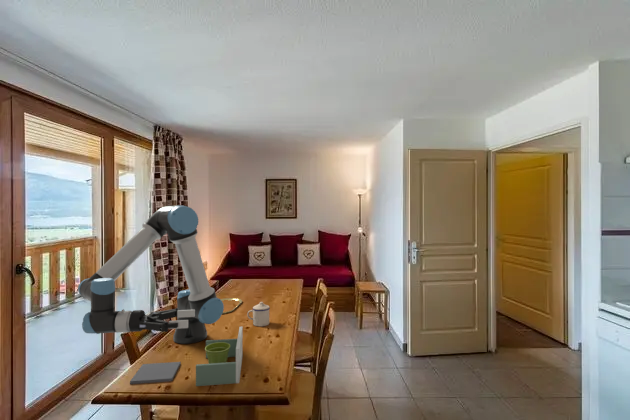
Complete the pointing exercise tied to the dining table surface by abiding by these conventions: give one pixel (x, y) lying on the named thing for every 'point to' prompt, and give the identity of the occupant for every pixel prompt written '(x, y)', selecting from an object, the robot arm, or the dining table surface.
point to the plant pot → (217, 352)
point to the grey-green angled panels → (222, 365)
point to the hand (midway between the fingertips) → (191, 318)
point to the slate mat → (156, 372)
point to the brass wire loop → (231, 299)
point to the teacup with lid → (260, 314)
